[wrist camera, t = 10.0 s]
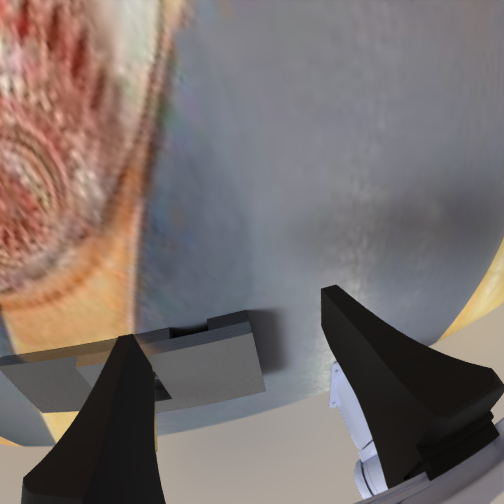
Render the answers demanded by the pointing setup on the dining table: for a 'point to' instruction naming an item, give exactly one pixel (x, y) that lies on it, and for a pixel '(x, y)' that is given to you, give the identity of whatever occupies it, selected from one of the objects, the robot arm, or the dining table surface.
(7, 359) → the link
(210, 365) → the link
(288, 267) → the dining table surface
